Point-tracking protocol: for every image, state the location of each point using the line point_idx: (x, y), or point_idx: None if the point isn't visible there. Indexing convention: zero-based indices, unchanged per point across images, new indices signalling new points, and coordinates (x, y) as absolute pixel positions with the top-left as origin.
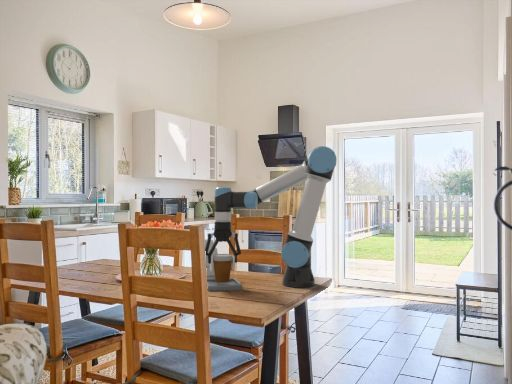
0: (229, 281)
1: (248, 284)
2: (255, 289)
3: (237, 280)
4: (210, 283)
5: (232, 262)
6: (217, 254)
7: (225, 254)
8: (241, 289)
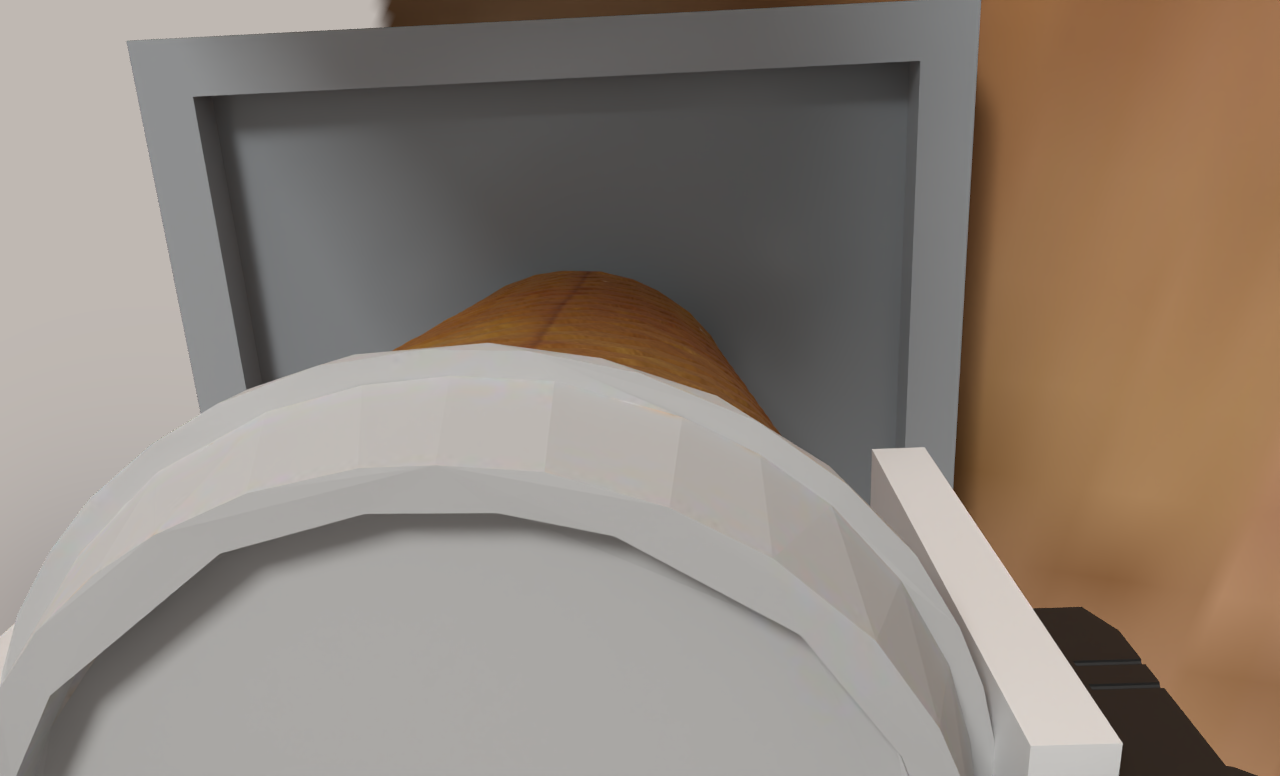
0: (780, 197)
1: (1200, 218)
2: (1162, 687)
3: (958, 325)
4: (321, 363)
5: None
6: (194, 572)
7: (692, 562)
8: None
